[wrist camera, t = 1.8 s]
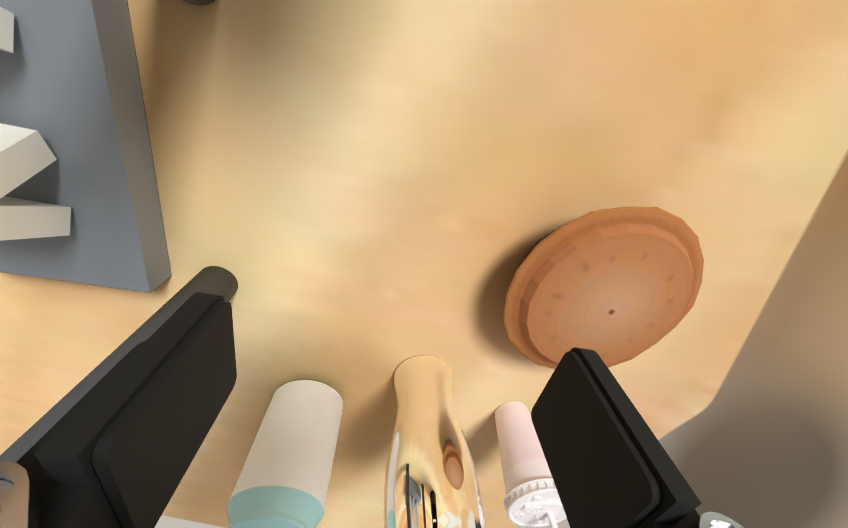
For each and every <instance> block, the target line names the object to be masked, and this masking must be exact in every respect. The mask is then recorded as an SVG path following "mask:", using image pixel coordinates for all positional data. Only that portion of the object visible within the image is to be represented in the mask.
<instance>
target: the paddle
mask: <svg viewBox="0 0 848 528" xmlns="http://www.w3.org/2000/svg"><path fill="white" fill-rule="evenodd" d="M70 220H71V207H67V206H61V205H55V204H49V203H43V202H37V201H31V200H25V199H19V198H13V197H7V196H3V197H2V198H1V199H0V241H2V240H15V239H29V238H42V237H55V236H69V235H70Z"/></svg>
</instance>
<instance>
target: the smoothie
mask: <svg viewBox="0 0 848 528" xmlns="http://www.w3.org/2000/svg"><path fill="white" fill-rule="evenodd" d="M495 421H496V428H497V435H498V442H499V449H500V456H501V463H502V470H503V477H504V485H505V491H506V497H505V499H504V506H505V509H506V512H507V516H508V518H509V520H510V521H512V522H513V523H515V524H517V525H520V526H525V527H542V526H547V525H550V526H551V528H558V527H557V524H556V523H558V522H560V521H562V520H564V519H566V518H567V517H566V514H565V511H564V509H563V506H562V503H561V500H560V498H559V495H558V492H557V489H556V486H555V484H554V481H553V478H552V475H551V473H550V470H549V467H548V464H547V462H546V459H545V456H544V453H543V451H542V448H541V445H540V442H539V440H538V437H537V434H536V431H535V428H534V426H533V423H532V419H531V415H530V413H529V411H528V409H527V407H526V406H525V405H524V404H523V403H521V402H516V401H512V402H507V403H504V404H502V405H500V406H499V407H498V408H497V409H496V411H495Z"/></svg>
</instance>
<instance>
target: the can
mask: <svg viewBox="0 0 848 528" xmlns="http://www.w3.org/2000/svg"><path fill="white" fill-rule="evenodd" d="M342 411H343V401H342V398H341V396H340V395H339V394H338V393H337V391H335V390H334V389H333V388H331V387H330V386H328V385H326V384H324V383H321V382H318V381H314V380H298V381H292V382H289V383H286V384H284V385H282V386H281V387H279V388H278V389H277V390H276V391H275V393H274V395H273V397H272V399H271V402H270V404H269V407H268V409H267V411H266V414H265V416H264V419H263V421H262V423H261V426H260V428H259V431H258V433H257V435H256V438H255V440H254V443H253V445H252V447H251V450H250V452H249V454H248V457H247V459H246V462H245V464H244V466H243V469H242V471H241V474H240V476H239V478H238V481H237V483H236V486H235V488H234V490H233V493H232V495H231V498H230V500H229V502H228V506H227V514H228V520H229V525H230V526H229V528H315V527H316V526H317V525H318V524H319V522H320V521H321V519H322V517H323V514H324V509H325V503H326V498H327V492H328V487H329V481H330V476H331V471H332V465H333V460H334V454H335V449H336V443H337V438H338V433H339V427H340V422H341V416H342Z"/></svg>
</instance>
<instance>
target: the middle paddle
mask: <svg viewBox="0 0 848 528" xmlns="http://www.w3.org/2000/svg"><path fill="white" fill-rule="evenodd" d="M56 160H57V159H56V157H55V156H54V154H53V153H52V151H51V150H50V149H49V147H48V146H47V144H46V143H45V141H44V140H43V138H42V137H41V135H40V134H39V132H38V131H37V130H32V129H27V128H22V127H17V126H12V125H7V124H2V123H0V199H1V198H2V197H3V196H5V195H6V194H8V193H9V192H11V191H12V190H14V189H15V188H16V187H18V186H19V185H21V184H22V183H24V182H25V181H27V180H28V179H29V178H31V177H32V176H34V175H35V174H37V173H38V172H40V171H41V170H43V169H44V168H45V167H47V166H48V165H50V164H51V163H53V162H54V161H56Z"/></svg>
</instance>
